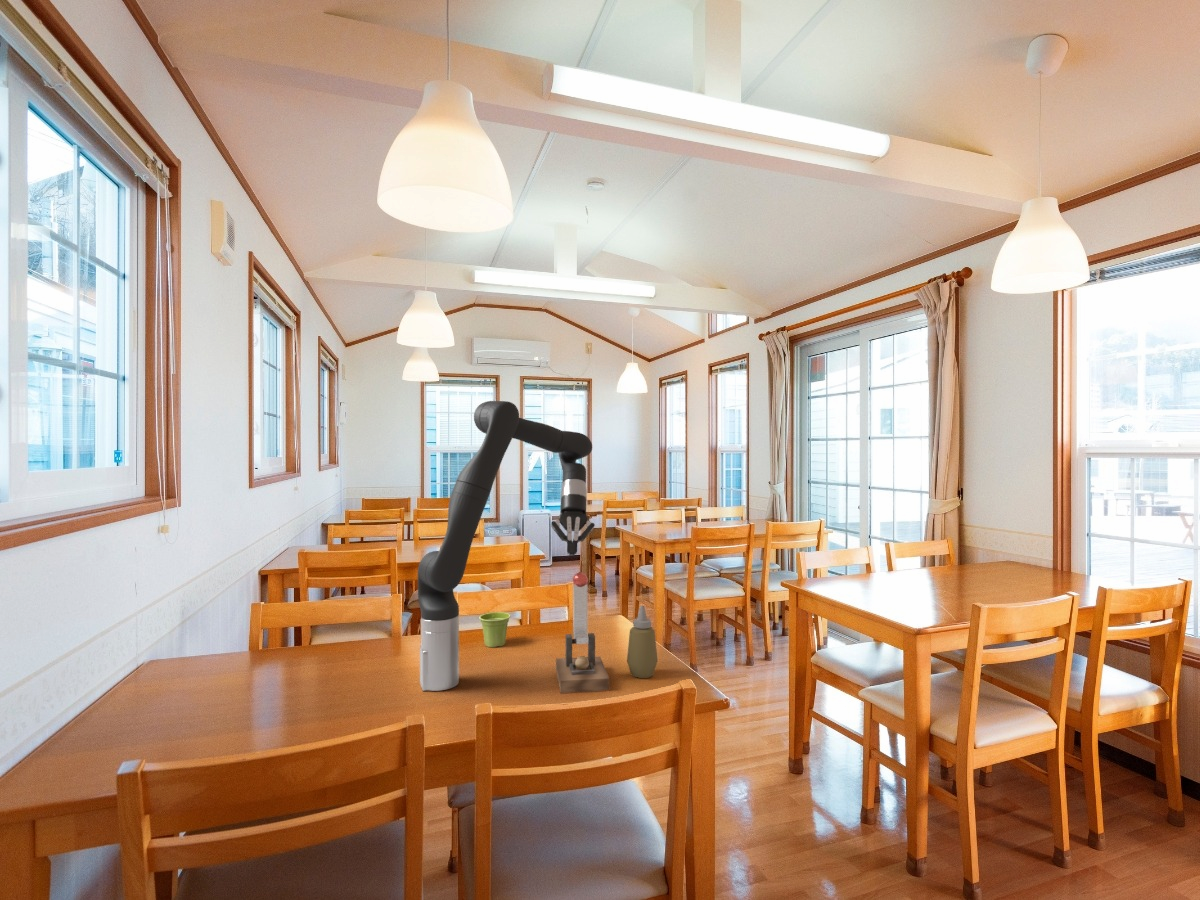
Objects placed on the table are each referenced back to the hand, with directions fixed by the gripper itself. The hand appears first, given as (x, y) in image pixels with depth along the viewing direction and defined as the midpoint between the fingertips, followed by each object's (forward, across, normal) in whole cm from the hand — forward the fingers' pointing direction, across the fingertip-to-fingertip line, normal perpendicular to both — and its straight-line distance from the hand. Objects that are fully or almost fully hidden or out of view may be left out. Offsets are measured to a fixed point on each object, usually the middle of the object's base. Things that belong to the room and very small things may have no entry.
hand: (572, 554), depth 169 cm
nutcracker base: (+33, +3, +2) cm, 33 cm away
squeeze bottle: (+31, +20, +3) cm, 37 cm away
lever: (+23, +3, -2) cm, 23 cm away
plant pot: (+20, -22, +29) cm, 42 cm away
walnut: (+31, +3, -1) cm, 31 cm away
